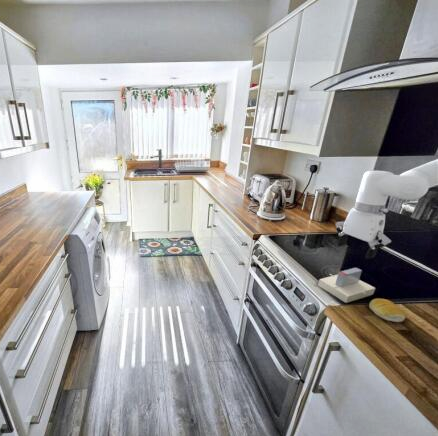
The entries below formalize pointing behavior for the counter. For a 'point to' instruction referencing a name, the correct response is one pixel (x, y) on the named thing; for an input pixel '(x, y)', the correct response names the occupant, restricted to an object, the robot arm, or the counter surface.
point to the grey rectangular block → (348, 277)
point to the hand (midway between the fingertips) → (354, 251)
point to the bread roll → (387, 310)
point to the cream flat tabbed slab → (346, 289)
